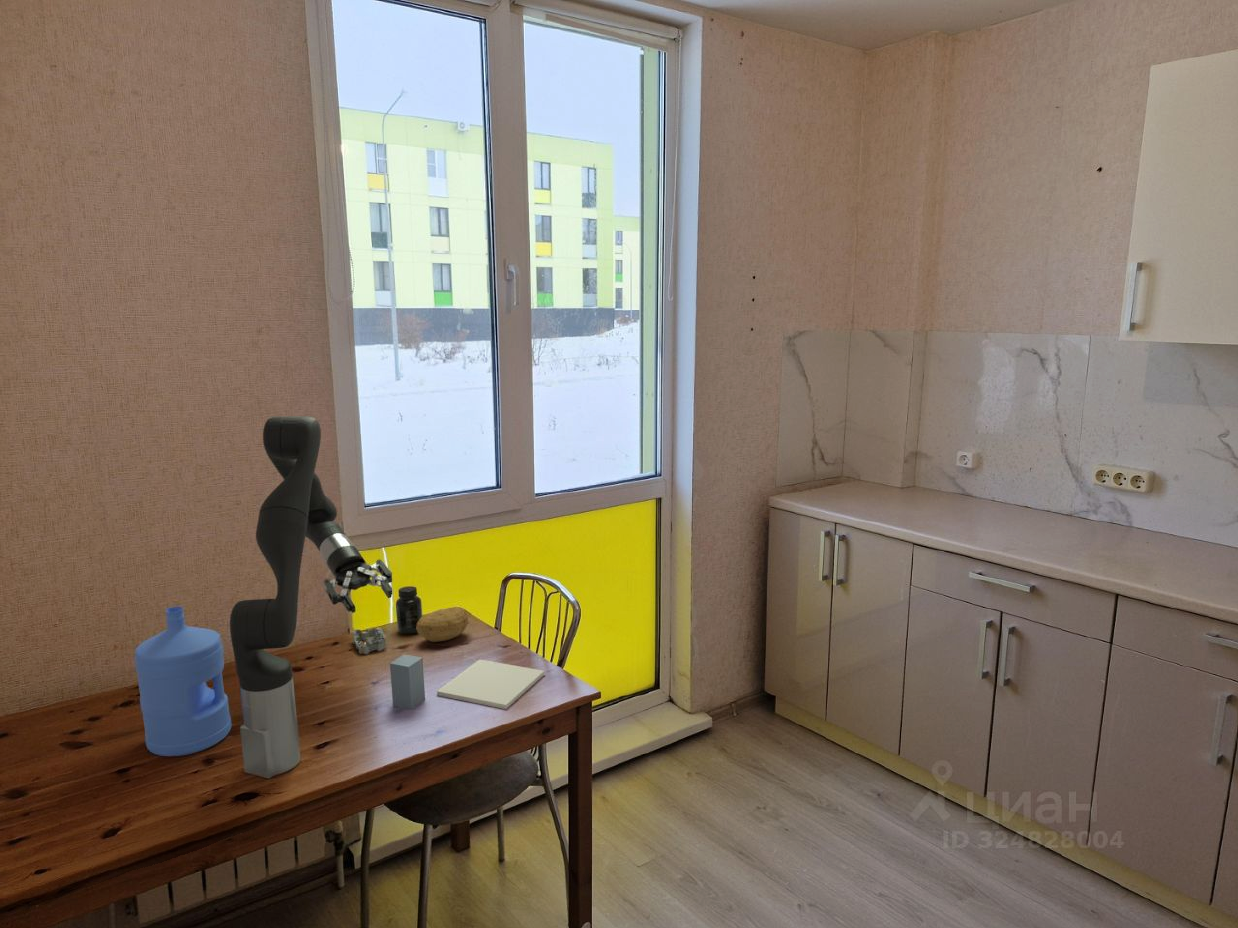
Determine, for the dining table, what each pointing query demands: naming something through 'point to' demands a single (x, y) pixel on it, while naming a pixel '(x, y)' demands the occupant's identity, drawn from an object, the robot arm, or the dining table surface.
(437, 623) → the potato
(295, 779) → the dining table surface
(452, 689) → the cream tile
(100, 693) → the dining table surface
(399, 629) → the supplement bottle
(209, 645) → the water jug
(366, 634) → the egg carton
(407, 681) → the slate block
